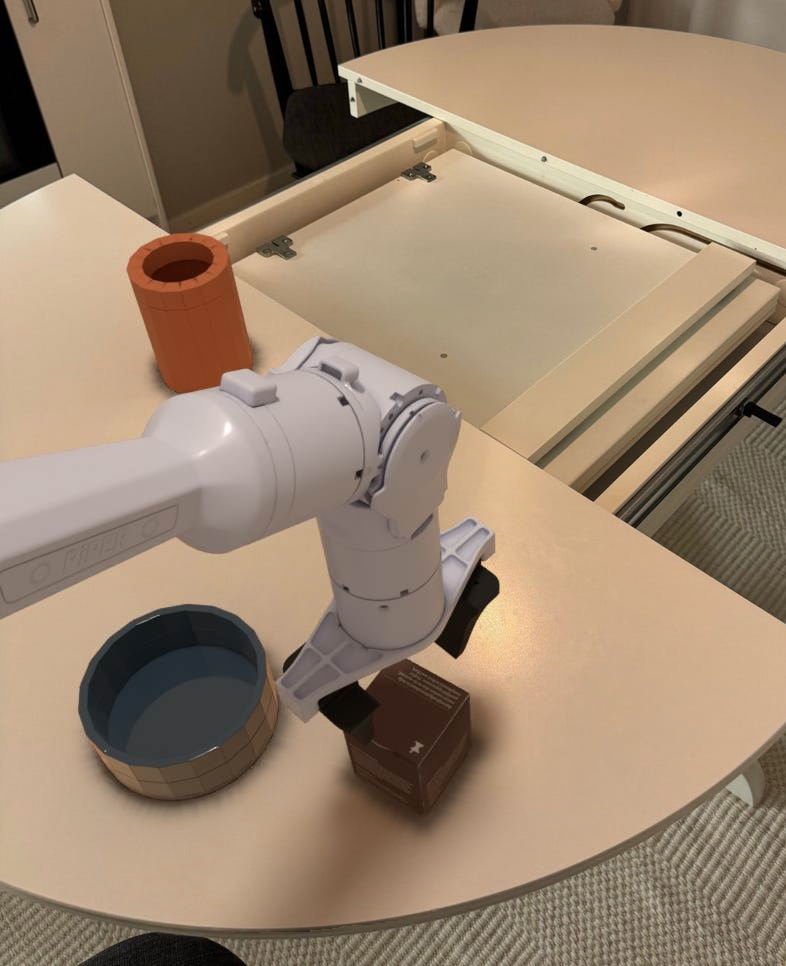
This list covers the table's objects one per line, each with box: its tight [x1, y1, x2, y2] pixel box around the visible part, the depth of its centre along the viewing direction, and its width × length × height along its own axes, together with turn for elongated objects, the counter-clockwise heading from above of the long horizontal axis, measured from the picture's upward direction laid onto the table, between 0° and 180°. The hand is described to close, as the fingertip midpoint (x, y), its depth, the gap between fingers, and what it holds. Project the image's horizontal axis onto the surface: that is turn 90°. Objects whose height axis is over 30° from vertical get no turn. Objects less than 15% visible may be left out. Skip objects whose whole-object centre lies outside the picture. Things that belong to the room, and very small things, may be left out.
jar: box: [126, 232, 254, 394], centre depth 88 cm, size 9×9×12 cm
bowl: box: [77, 603, 279, 801], centre depth 66 cm, size 12×12×5 cm
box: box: [342, 658, 473, 816], centre depth 62 cm, size 6×6×7 cm
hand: (404, 688), depth 58 cm, fingers open, 7 cm apart
